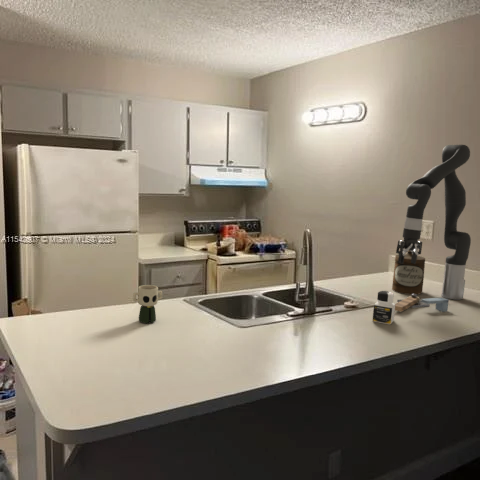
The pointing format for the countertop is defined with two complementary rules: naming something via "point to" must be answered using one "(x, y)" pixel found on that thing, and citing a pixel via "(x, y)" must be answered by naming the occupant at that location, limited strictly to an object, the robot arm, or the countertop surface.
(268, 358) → the countertop surface
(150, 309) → the character mug
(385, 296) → the medicine bottle
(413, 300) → the link
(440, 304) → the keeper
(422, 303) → the pivot base
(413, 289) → the wooden container
